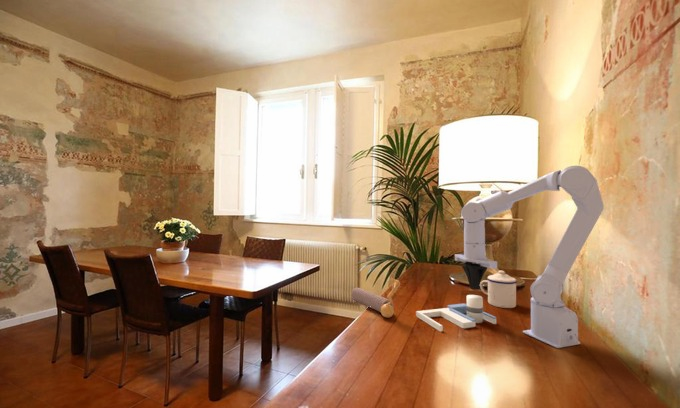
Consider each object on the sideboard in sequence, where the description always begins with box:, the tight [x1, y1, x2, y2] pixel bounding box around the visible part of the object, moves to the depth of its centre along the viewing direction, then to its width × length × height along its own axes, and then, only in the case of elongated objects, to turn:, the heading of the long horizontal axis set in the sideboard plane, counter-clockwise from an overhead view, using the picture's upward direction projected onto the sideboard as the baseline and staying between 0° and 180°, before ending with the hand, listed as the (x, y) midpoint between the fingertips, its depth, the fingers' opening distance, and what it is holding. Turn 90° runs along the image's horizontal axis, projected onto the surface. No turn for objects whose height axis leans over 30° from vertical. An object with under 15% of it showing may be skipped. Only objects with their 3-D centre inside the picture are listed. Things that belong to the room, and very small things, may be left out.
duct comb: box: [415, 302, 497, 332], centre depth 88 cm, size 12×19×2 cm, turn 107°
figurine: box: [380, 277, 401, 319], centre depth 90 cm, size 8×6×12 cm
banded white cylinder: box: [465, 294, 484, 324], centre depth 88 cm, size 5×5×7 cm
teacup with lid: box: [479, 270, 517, 309], centre depth 104 cm, size 12×9×12 cm
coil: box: [350, 287, 394, 313], centre depth 99 cm, size 5×5×18 cm
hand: (474, 288), depth 88 cm, fingers closed
